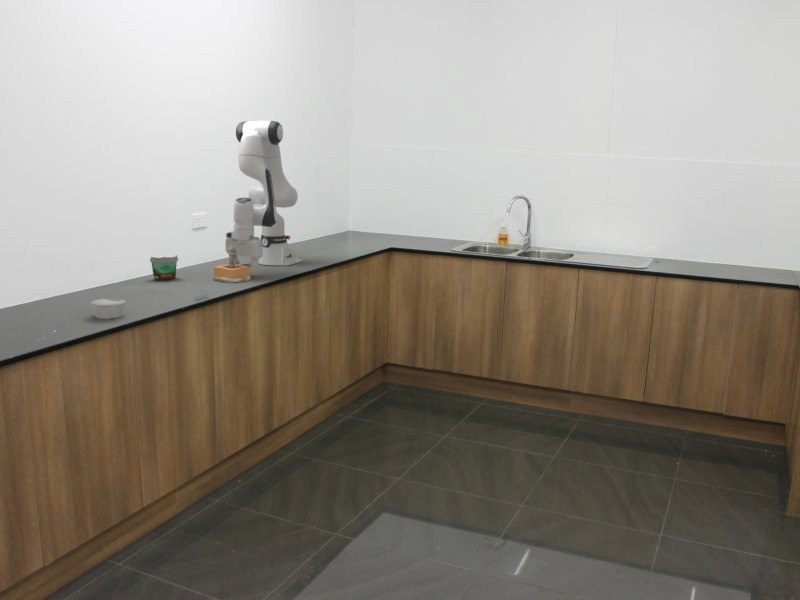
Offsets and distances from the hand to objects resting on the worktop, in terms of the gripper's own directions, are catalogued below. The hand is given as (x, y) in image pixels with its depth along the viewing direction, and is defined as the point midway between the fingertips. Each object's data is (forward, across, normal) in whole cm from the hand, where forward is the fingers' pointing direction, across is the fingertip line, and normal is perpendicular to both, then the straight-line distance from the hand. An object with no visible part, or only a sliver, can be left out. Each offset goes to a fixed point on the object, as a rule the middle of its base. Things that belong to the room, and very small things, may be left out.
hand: (244, 265), depth 349 cm
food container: (+5, +19, +28) cm, 34 cm away
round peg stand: (+5, 0, +8) cm, 9 cm away
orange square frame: (+4, 0, +5) cm, 6 cm away
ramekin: (+5, -19, +84) cm, 86 cm away
